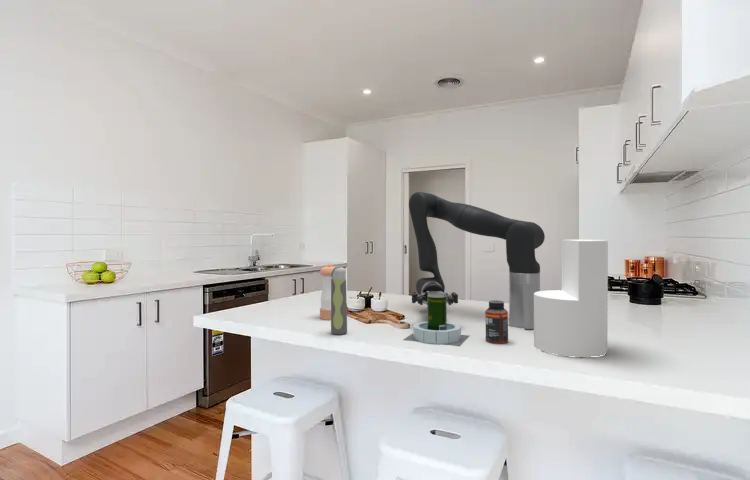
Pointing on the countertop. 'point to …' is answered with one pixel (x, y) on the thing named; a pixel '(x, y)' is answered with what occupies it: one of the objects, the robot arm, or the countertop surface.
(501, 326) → the supplement bottle
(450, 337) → the bowl
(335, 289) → the patterned grey bottle
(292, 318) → the countertop surface
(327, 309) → the salt shaker
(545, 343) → the white stepped cylinder
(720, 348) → the countertop surface
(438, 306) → the beer can
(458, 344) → the mat
